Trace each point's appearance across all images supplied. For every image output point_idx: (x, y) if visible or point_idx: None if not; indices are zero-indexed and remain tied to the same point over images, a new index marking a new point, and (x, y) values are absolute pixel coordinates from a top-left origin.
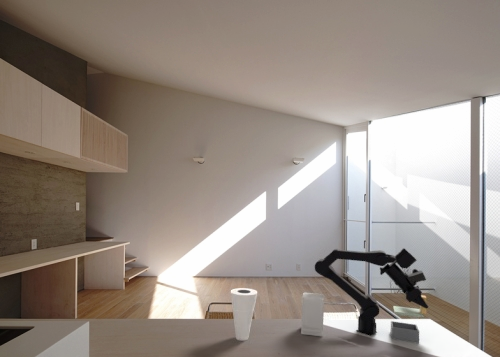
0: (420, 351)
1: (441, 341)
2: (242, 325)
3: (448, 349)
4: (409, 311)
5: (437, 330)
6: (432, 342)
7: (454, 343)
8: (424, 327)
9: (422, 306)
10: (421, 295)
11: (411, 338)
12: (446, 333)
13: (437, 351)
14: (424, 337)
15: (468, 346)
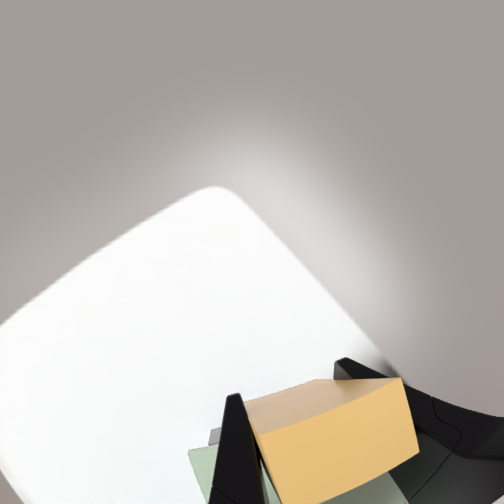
0: (386, 373)
1: (189, 316)
2: None
3: (279, 281)
4: (345, 499)
5: (46, 335)
6: (236, 352)
7: (178, 262)
8: (41, 392)
9: None
10: (297, 489)
11: None
12: (63, 297)
13: (338, 317)
14: (187, 394)
15: (179, 212)
